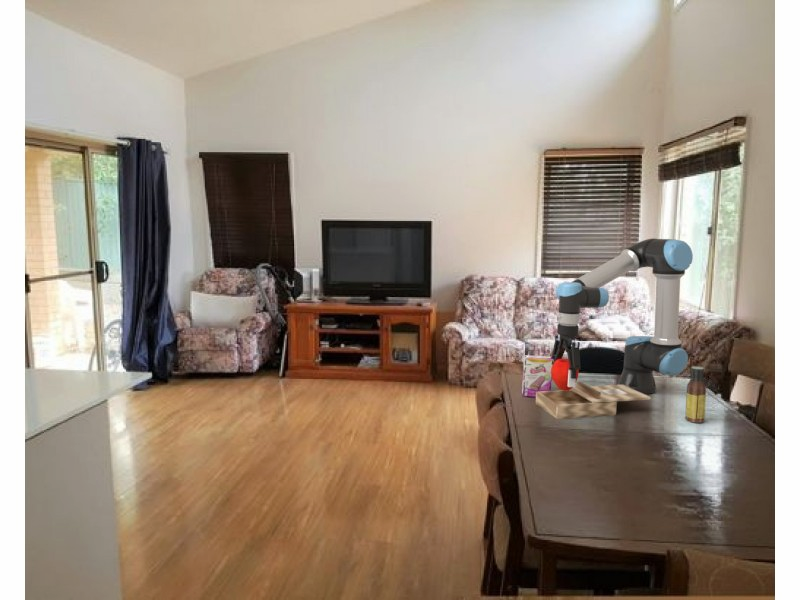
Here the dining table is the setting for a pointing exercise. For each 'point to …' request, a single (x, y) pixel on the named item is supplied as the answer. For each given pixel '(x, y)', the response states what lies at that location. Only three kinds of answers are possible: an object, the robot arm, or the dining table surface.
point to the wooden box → (572, 405)
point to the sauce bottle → (696, 396)
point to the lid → (608, 393)
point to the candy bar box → (536, 375)
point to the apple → (561, 374)
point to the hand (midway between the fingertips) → (564, 382)
